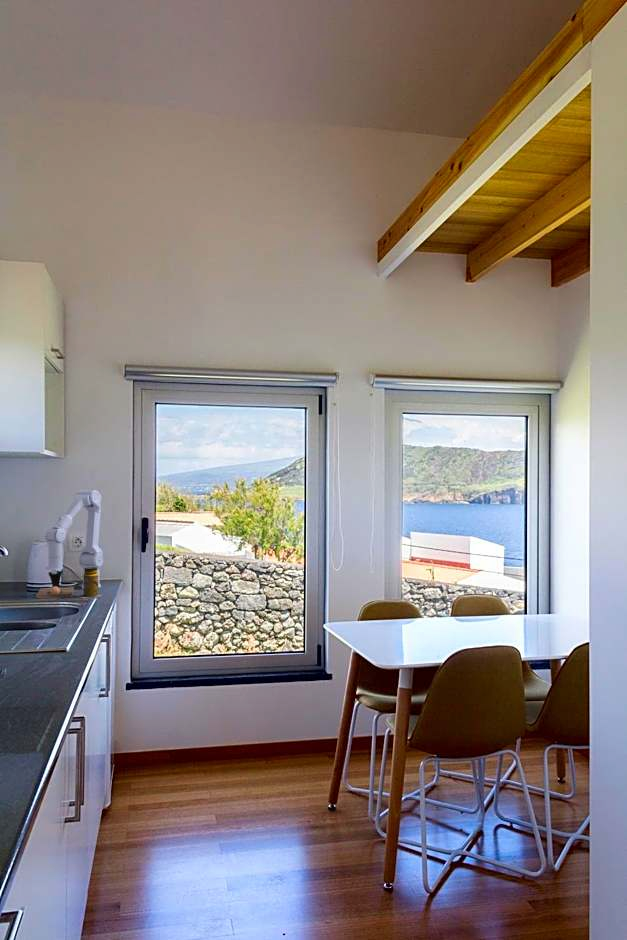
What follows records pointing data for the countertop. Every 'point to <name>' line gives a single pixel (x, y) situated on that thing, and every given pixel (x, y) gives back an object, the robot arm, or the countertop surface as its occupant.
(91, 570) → the condiment
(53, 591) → the ball
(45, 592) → the deck
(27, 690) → the countertop surface
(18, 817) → the countertop surface
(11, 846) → the countertop surface
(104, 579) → the countertop surface
